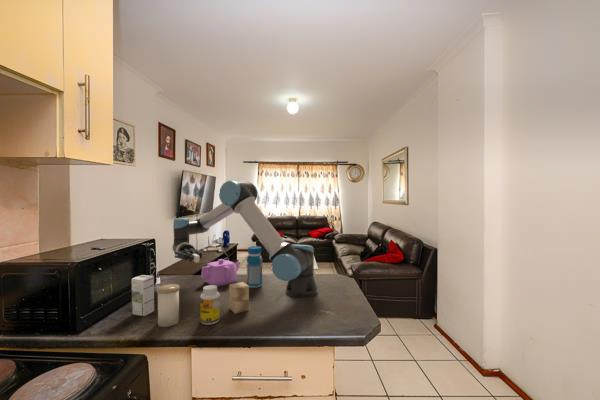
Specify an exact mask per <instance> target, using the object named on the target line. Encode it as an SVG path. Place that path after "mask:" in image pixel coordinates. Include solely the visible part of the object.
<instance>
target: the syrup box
mask: <svg viewBox="0 0 600 400" xmlns="http://www.w3.org/2000/svg"><path fill="white" fill-rule="evenodd" d="M154 281H155V275H146V274H141V275H138V276H135V277H133V278H131V315H132V316H138V317H146V316H148V315H149V314H152V313H153V312H154V311H155V287H154V286H155V282H154Z"/></svg>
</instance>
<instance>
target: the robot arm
mask: <svg viewBox="0 0 600 400" xmlns="http://www.w3.org/2000/svg"><path fill="white" fill-rule="evenodd" d="M218 196H219V197H218V198H219V200H220V202H221V204H218V205H217V206H216V207H214V208H213V209H211V210H210V211H208V212H207V213H205V214H203V215H202V216H200V217H199V218H198V219H195V220H190V219H189V217H178V218H177V217H176V218H174V219H173V226H172V227H173V244H172V252H174V258H175V259H180V260H184V261H189V262H190V263H191V262H195V263H197V264H198V263H200V259H202V258H203V254H204V253H203V252H204V249H203V248H200V249H197V248H195V247H194V245H192V244H190V236H191V235H196V234H197V235H198V234H203V233H206V232H208V231H209V230H210V228H211V227H213V226H214V225H216V224H218V223H220V222H221V221H223V220H224V219H225V218H227V217H229V216H230V215H232V214H233V213H235V214H239V215H240V216H241V217H242V218H243V220H244V222H245V223H246V224H247V225H248V227H249V228H250V230H251V231H252V232H253V234H254V235H255V236H256V238H257V239H258V240H259V242H260V243H261V245H262V246H263V247H264V249H265V250H266V251H267V253H268V254H269V258H268V260H269V261H270V262H271V271H272V273H273V275H274V276H275V277H276V278H277V279H278V280H280V281H285V282H287V284H286V286H285V293H286V295H288V296H290V297H295V298H309V297H313V296H316V295H317V293H318V285H317V283H316V280H315V277H314V266H315V265H314V264H315V263H314V261H315V260H314V257H315V256H314V254H315V252H314V251H315V250H314V247H313V246H312V245H309V244H297V243H296V244H291V243H290V242H286V241H285V240H284V239H283V238H282V237H281V235H280V234H279V232H278V231H277V230H276V228H275V227H274V226H273V224H272V223H271V221H270V220H269V219H268V218H267V217H266V215H265V214H264V213H263V212H262V210H261V209H260V208H259V206H258V205H257V204H256V200H257V198H258V188H257V186H256V185H254V184H253V183H252V182H249V181H242V180H234V179H232V180H227V181H225V182H224V183H223V184H222V185H221V186H220V188H219V194H218Z"/></svg>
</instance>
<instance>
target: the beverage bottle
mask: <svg viewBox="0 0 600 400" xmlns="http://www.w3.org/2000/svg"><path fill="white" fill-rule="evenodd" d="M261 253H262V246H259V245H258V246H257V245H253V246H249V247H248V248H247V254H248V255H247V258H246V265H245V266H246V267H245V268H246V284H247V285H248V286H249V288H250V289H251V288H260V287H262V286H263V267H264V266H263V265H264V264H263V257H262V255H261Z"/></svg>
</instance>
